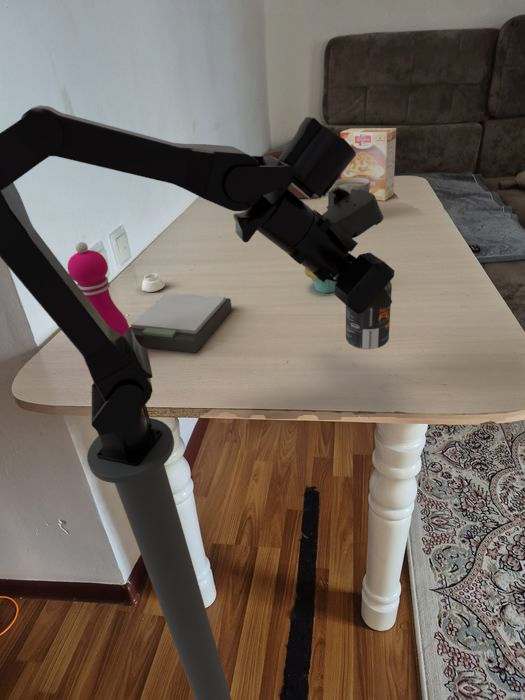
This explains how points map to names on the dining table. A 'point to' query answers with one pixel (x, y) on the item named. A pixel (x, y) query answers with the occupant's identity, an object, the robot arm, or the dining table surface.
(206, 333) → the scale
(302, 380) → the dining table surface
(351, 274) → the robot arm
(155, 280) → the white jar
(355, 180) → the coffee mug
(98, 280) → the pepper mill
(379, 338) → the pill bottle
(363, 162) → the coffeecake box
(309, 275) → the cupcake
